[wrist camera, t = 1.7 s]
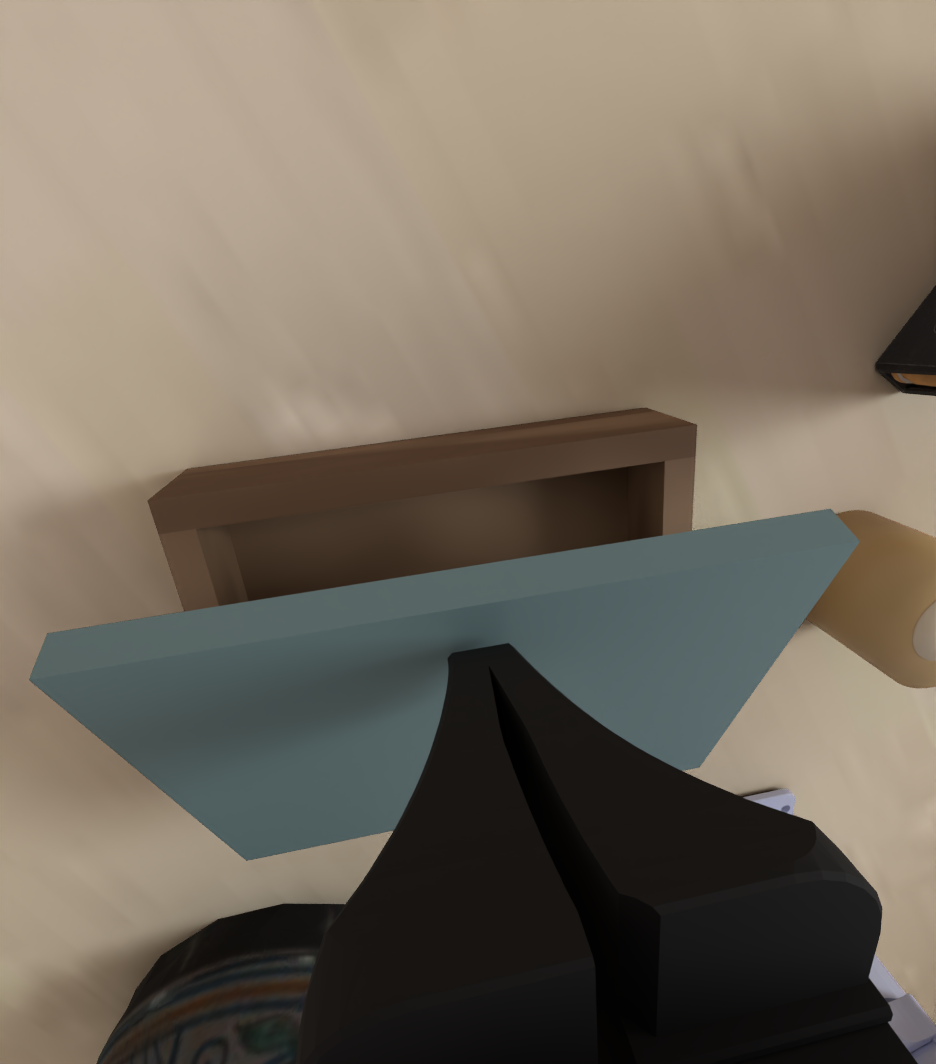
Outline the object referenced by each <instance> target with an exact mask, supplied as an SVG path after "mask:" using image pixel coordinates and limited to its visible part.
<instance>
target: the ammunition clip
mask: <svg viewBox="0 0 936 1064" xmlns="http://www.w3.org/2000/svg"><path fill="white" fill-rule="evenodd" d="M876 370H877V371H878V372H879V373H881V374H882V375H883V376H884V377H885V378H886V379H887V380H889V381H890V382H891V383H892V384H893V385H894V386H895V387H896V388H898V389H899V390H900V391H901V392H902V393H908V394H920V395H931V396H936V286H935V287H934V288H933V290H932V291H931V292H930V293H929V295H928V296H927V297H926V299H925V300H924V301H923V302H922V304H921V305H920V306H919V308H918V309H917V310H916V311H915V313H914V314H913V315H912V317H911V318H910V319H909V320H908V322H907V323H906V324H905V326H904V327H903V328H902V330H901V331H900V332H899V333H898V335H897V336H896V337H895V339H894V340H893V341H892V342H891V344H890V345H889V346H888V348H887V349H886V350H885V351H884V353H883V354H882V355H881V357H880V358H879V359H878V361H877V362H876Z"/></svg>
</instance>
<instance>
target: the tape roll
mask: <svg viewBox="0 0 936 1064" xmlns="http://www.w3.org/2000/svg"><path fill="white" fill-rule="evenodd" d="M836 515H837V516H838V517H839V519H840V520H841V521H842V522H843V523H844V524H845V525H846V526H847V527H848V528H849V529H850V531H851V532H852V533H853V534H854V535H855V536H856V537H857V538H858V539H859V540H860V542H859V544H858V545H857V546H856V548H855V549H854V551H853V552H852V554H851V555H850V556H849V558H848V559H847V561H846V562H845V563H844V565H843V566H842V568H841V569H840V570H839V572H838V573H837V575H836V576H835V577H834V579H833V580H832V582H831V583H830V584H829V586H828V587H827V589H826V590H825V591H824V593H823V594H822V596H821V597H820V598H819V600H818V601H817V603H816V604H815V606H814V607H813V608H812V610H811V611H810V613H809V614H808V615H807V617H806V619H807V620H809V621H810V622H812V623H813V624H814V625H816V626H817V627H819V628H820V629H822V630H823V631H824V632H826V633H827V634H829V635H830V636H832V637H833V638H834V639H836V640H837V641H839V642H840V643H842V644H843V645H844V646H846V647H847V648H849V649H850V650H852V651H853V652H854V653H856V654H857V655H859V656H860V657H862V658H863V659H864V660H866V661H867V662H869V663H870V664H872V665H873V666H874V667H876V668H877V669H879V670H880V671H882V672H883V673H884V674H886V675H887V676H889V677H890V678H892V679H893V680H894V681H896V682H897V683H899V684H902V685H904V686H907V687H912V688H929V687H935V686H936V538H935V537H933V536H930V535H928V534H925V533H923V532H920V531H918V530H915V529H913V528H910V527H907V526H905V525H902V524H900V523H897V522H895V521H892V520H890V519H887V518H885V517H882V516H879V515H877V514H874V513H872V512H868V511H862V510H854V511H847V512H842V513H839V514H836Z"/></svg>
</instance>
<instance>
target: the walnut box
mask: <svg viewBox="0 0 936 1064" xmlns="http://www.w3.org/2000/svg"><path fill="white" fill-rule="evenodd" d="M696 435H697V425H696V424H693V423H690V422H687V421H684V420H681V419H678V418H675V417H672V416H669V415H666V414H663V413H660V412H657V411H654V410H651V409H648V408H640V409H632V410H625V411H617V412H610V413H602V414H595V415H587V416H580V417H572V418H565V419H557V420H550V421H542V422H535V423H527V424H520V425H512V426H505V427H497V428H490V429H482V430H475V431H468V432H460V433H453V434H445V435H438V436H430V437H423V438H415V439H408V440H400V441H393V442H385V443H378V444H370V445H363V446H355V447H348V448H340V449H333V450H325V451H318V452H310V453H303V454H295V455H288V456H280V457H273V458H265V459H258V460H250V461H243V462H235V463H228V464H220V465H213V466H205V467H198V468H190V469H187V470H185V471H184V472H183V473H182V474H180V475H179V476H178V477H177V478H175V479H174V480H173V481H172V482H170V483H169V484H168V485H167V486H165V487H164V488H163V489H162V490H160V491H159V492H158V493H157V494H155V495H154V496H153V497H152V498H150V499H149V500H148V503H149V506H150V509H151V512H152V515H153V518H154V521H155V525H156V528H157V531H158V534H159V537H160V540H161V543H162V546H163V549H164V552H165V555H166V558H167V561H168V564H169V567H170V570H171V573H172V576H173V579H174V582H175V585H176V588H177V591H178V594H179V597H180V600H181V603H182V606H183V609H184V612H185V611H192V610H198V609H204V608H210V607H217V606H223V605H229V604H236V603H242V602H248V601H254V600H261V599H267V598H273V597H280V596H286V595H292V594H298V593H305V592H311V591H317V590H324V589H330V588H336V587H342V586H349V585H355V584H361V583H368V582H374V581H380V580H386V579H393V578H399V577H405V576H412V575H418V574H424V573H430V572H437V571H443V570H449V569H455V568H462V567H468V566H474V565H481V564H487V563H493V562H499V561H506V560H512V559H518V558H525V557H531V556H537V555H543V554H550V553H556V552H562V551H569V550H575V549H581V548H587V547H594V546H600V545H606V544H613V543H619V542H625V541H631V540H638V539H644V538H650V537H657V536H663V535H669V534H675V533H682V532H688V531H692V514H693V494H694V475H695V455H696Z"/></svg>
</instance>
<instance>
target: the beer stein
mask: <svg viewBox="0 0 936 1064" xmlns="http://www.w3.org/2000/svg"><path fill="white" fill-rule="evenodd" d="M344 906H345V904H281V905H277V906H272V907H268V908H264V909H260V910H256V911H251V912H247V913H243V914H239V915H235V916H230V917H226V918H222V919H218V920H216V921H215V922H213V923H212V924H210V925H209V926H207V927H205V928H204V929H202V930H201V931H199V932H198V933H196V934H194V935H193V936H191V937H190V938H188V939H187V940H185V941H183V942H182V943H180V944H179V945H177V946H176V947H174V948H172V949H171V950H169V951H168V952H166V953H165V954H163V955H161V956H160V958H159V959H158V961H157V962H156V963H155V965H154V966H153V967H152V969H151V970H150V971H149V973H148V974H147V975H146V977H145V978H144V979H143V981H142V982H141V984H140V985H139V986H138V988H137V989H136V991H135V993H134V995H133V997H132V999H131V1002H130V1004H129V1006H128V1008H127V1010H126V1012H125V1013H124V1015H123V1016H122V1018H121V1019H120V1021H119V1023H118V1024H117V1026H116V1027H115V1029H114V1030H113V1032H112V1034H111V1035H110V1037H109V1039H108V1041H107V1043H106V1045H105V1046H104V1048H103V1050H102V1052H101V1054H100V1056H99V1058H98V1061H97V1064H295V1063H296V1054H297V1045H298V1036H299V1028H300V1023H301V1018H302V1013H303V1008H304V1004H305V999H306V994H307V990H308V986H309V983H310V979H311V975H312V971H313V968H314V964H315V961H316V958H317V955H318V952H319V948H320V945H321V942H322V939H323V936H324V933H325V931H326V930H327V929H328V927H329V926H330V925H331V923H332V922H333V921H334V919H335V918H336V917H337V915H338V914H339V913H340V911H341V910H342V909H343V907H344Z"/></svg>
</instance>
